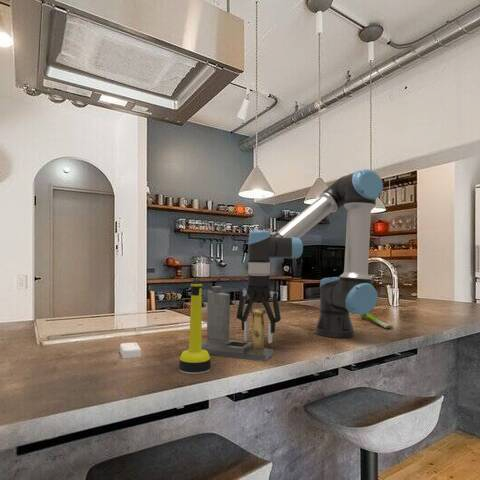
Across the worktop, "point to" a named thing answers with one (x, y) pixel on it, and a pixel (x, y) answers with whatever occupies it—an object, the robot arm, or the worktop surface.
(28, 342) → the worktop surface
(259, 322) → the pin
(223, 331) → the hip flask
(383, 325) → the leek
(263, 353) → the grey socket base
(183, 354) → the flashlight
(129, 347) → the soap
